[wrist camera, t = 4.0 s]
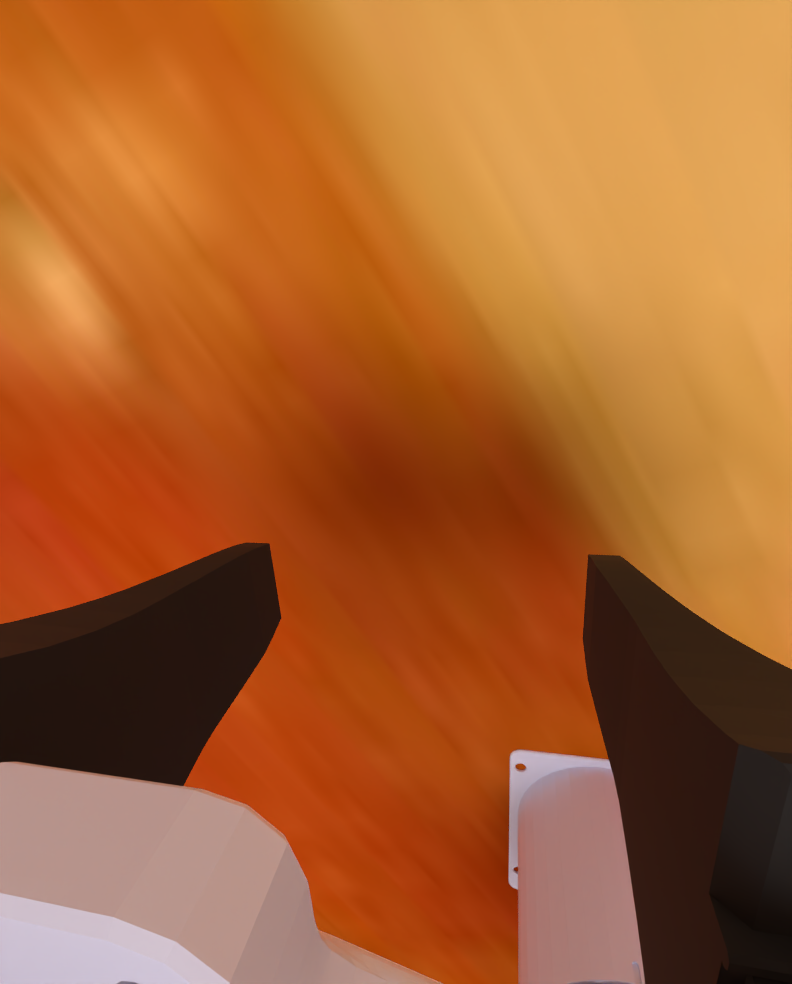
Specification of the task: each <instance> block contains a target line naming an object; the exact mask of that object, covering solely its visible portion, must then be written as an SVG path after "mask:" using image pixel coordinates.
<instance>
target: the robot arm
mask: <svg viewBox="0 0 792 984" xmlns="http://www.w3.org/2000/svg"><path fill="white" fill-rule="evenodd" d="M280 619H281V613H280V607H279V601H278V594H277V588H276V582H275V576H274V570H273V563H272V557H271V551H270V545H269V544H268V543H243V544H239V545H236V546H232V547H230V548H227V549H224V550H221V551H219V552H216V553H214V554H211V555H209V556H207V557H204V558H202V559H199V560H197V561H195V562H192V563H190V564H188V565H185V566H183V567H181V568H178V569H176V570H174V571H171V572H169V573H166V574H164V575H161V576H159V577H156V578H154V579H151V580H148V581H146V582H143V583H141V584H138V585H136V586H133V587H131V588H128V589H126V590H123V591H120V592H117V593H114V594H111V595H108V596H105V597H103V598H99V599H96V600H93V601H90V602H87V603H83V604H80V605H77V606H73V607H70V608H66V609H63V610H59V611H55V612H50V613H46V614H42V615H38V616H34V617H30V618H26V619H22V620H18V621H14V622H9V623H4V624H0V984H443V983H441V982H438V981H436V980H434V979H432V978H429V977H427V976H425V975H422V974H420V973H418V972H415V971H413V970H411V969H409V968H406V967H404V966H402V965H399V964H397V963H395V962H393V961H390V960H388V959H386V958H383V957H381V956H379V955H376V954H374V953H372V952H370V951H367V950H365V949H363V948H360V947H358V946H356V945H353V944H351V943H349V942H347V941H344V940H342V939H340V938H337V937H335V936H333V935H330V934H328V933H325V932H323V931H320V930H318V928H317V926H316V923H315V919H314V914H313V908H312V902H311V897H310V891H309V885H308V881H307V879H306V877H305V875H304V873H303V871H302V869H301V867H300V865H299V863H298V861H297V859H296V857H295V855H294V853H293V851H292V849H291V847H290V845H289V843H288V841H287V839H286V837H285V835H284V834H283V833H281V832H280V831H279V830H278V829H276V828H275V827H274V826H273V825H272V824H270V823H269V822H268V821H267V820H265V819H264V818H263V817H262V816H260V815H259V814H258V813H257V812H256V811H254V810H253V809H252V808H251V807H249V806H248V805H246V804H244V803H241V802H238V801H235V800H232V799H229V798H226V797H224V796H221V795H218V794H215V793H212V792H209V791H207V790H204V789H198V788H192V787H185V786H183V785H184V783H185V782H186V780H187V778H188V776H189V774H190V772H191V770H192V768H193V766H194V764H195V762H196V761H197V759H198V757H199V755H200V753H201V751H202V749H203V747H204V746H205V744H206V742H207V741H208V739H209V738H210V736H211V734H212V733H213V731H214V729H215V728H216V726H217V725H218V723H219V722H220V720H221V719H222V717H223V716H224V714H225V713H226V711H227V710H228V708H229V707H230V705H231V704H232V702H233V701H234V699H235V698H236V696H237V695H238V693H239V692H240V690H241V689H242V687H243V686H244V684H245V683H246V681H247V680H248V678H249V677H250V675H251V674H252V672H253V671H254V669H255V668H256V666H257V665H258V663H259V662H260V660H261V658H262V657H263V655H264V654H265V652H266V650H267V648H268V646H269V644H270V642H271V640H272V638H273V635H274V633H275V631H276V628H277V626H278V624H279V622H280ZM583 643H584V652H585V660H586V668H587V676H588V681H589V685H590V689H591V693H592V697H593V701H594V705H595V709H596V712H597V716H598V720H599V724H600V728H601V731H602V735H603V739H604V743H605V746H606V750H607V754H608V758H609V759H601V758H592V757H583V756H575V755H566V754H557V753H548V752H539V751H530V750H522V749H519V750H514V751H513V752H512V753H511V754H510V796H509V884H510V885H511V886H512V887H513V888H515V889H518V983H519V984H792V669H790V668H787V667H785V666H783V665H781V664H779V663H777V662H775V661H773V660H772V659H770V658H768V657H766V656H764V655H762V654H760V653H758V652H757V651H755V650H753V649H751V648H750V647H748V646H746V645H744V644H742V643H741V642H739V641H737V640H735V639H734V638H732V637H730V636H728V635H727V634H725V633H724V632H722V631H720V630H719V629H717V628H716V627H714V626H713V625H711V624H710V623H708V622H707V621H705V620H704V619H702V618H701V617H699V616H698V615H696V614H695V613H693V612H692V611H690V610H689V609H688V608H686V607H685V606H683V605H682V604H681V603H679V602H678V601H677V600H675V599H674V598H673V597H671V596H670V595H669V594H667V593H666V592H665V591H664V590H662V589H661V588H660V587H658V586H657V585H656V584H655V583H653V582H652V581H651V580H650V579H648V578H647V577H646V576H645V575H644V574H642V573H641V572H640V571H639V570H637V569H636V568H635V567H634V566H633V565H631V564H630V563H629V562H628V561H626V560H625V559H624V558H622V557H621V556H614V555H588V568H587V583H586V598H585V613H584V628H583ZM519 763H521V764H524V765H525V766H526V769H524V770H519V769H517V768H516V767H515V765H516V764H519ZM515 867H518V872H517V871H515V870H514V868H515Z"/></svg>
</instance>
